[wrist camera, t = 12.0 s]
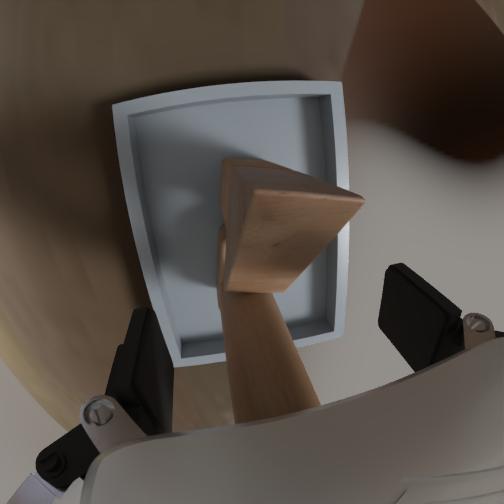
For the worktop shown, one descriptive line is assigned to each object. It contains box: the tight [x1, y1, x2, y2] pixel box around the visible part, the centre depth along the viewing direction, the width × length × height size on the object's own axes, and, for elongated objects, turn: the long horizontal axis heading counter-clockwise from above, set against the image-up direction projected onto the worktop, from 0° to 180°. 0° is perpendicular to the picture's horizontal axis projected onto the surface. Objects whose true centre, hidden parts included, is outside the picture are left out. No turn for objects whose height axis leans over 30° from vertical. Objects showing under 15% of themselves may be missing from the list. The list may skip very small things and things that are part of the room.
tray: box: [112, 81, 349, 367], centre depth 22 cm, size 22×16×3 cm
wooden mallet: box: [216, 158, 365, 424], centre depth 15 cm, size 4×11×18 cm, turn 176°
